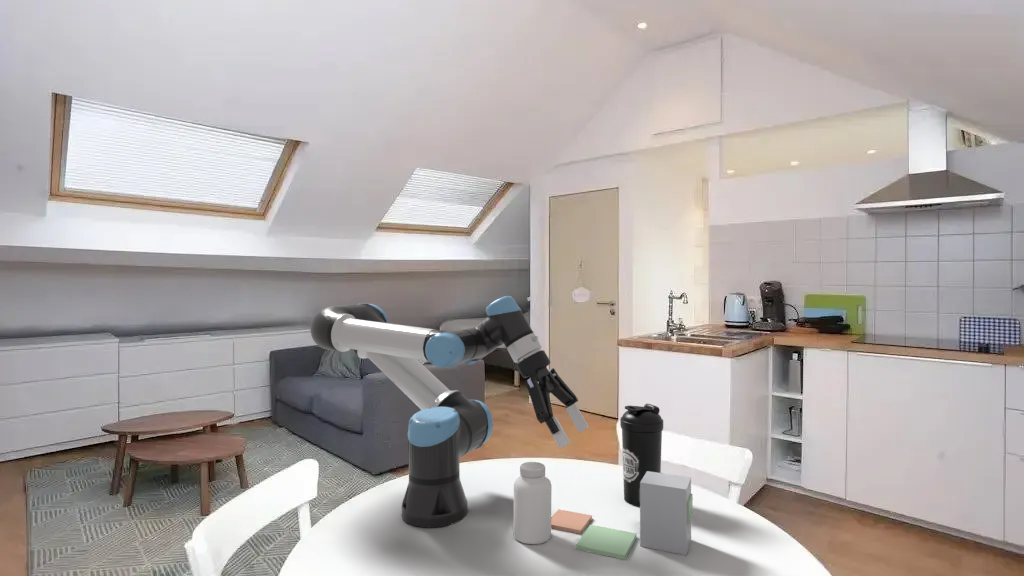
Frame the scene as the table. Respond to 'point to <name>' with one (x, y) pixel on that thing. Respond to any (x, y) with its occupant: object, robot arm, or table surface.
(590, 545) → the green pad
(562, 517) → the terracotta pad
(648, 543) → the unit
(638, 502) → the water bottle
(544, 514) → the pill bottle
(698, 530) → the table surface
